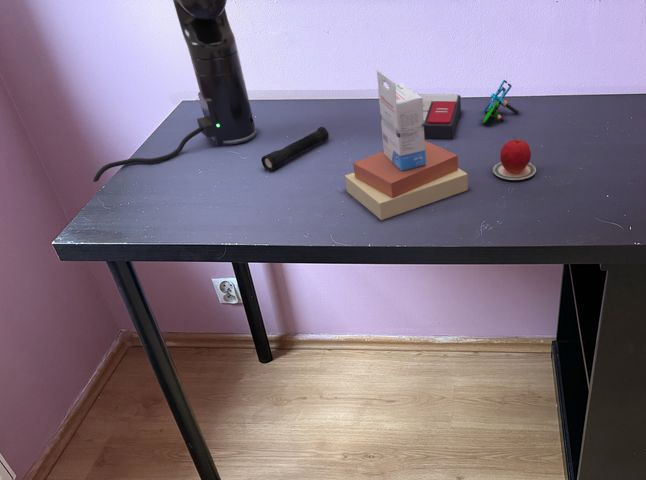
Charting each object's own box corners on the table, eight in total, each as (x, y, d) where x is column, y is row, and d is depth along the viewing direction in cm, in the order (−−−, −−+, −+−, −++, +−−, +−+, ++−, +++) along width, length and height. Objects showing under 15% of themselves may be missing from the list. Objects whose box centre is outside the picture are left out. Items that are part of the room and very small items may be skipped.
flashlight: (263, 169, 129) (259, 154, 127) (319, 139, 139) (317, 125, 137) (274, 172, 128) (270, 158, 126) (330, 141, 138) (328, 127, 136)
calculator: (399, 121, 135) (411, 90, 146) (400, 140, 138) (412, 109, 149) (452, 122, 134) (460, 91, 144) (452, 141, 137) (461, 110, 147)
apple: (506, 159, 128) (507, 126, 124) (543, 169, 124) (545, 135, 120) (484, 175, 123) (485, 142, 119) (522, 186, 120) (523, 151, 115)
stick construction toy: (487, 94, 148) (506, 70, 142) (512, 112, 150) (532, 89, 144) (472, 129, 142) (491, 106, 136) (499, 147, 144) (518, 125, 138)
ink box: (427, 165, 114) (423, 78, 104) (401, 172, 112) (394, 84, 103) (408, 147, 120) (402, 63, 110) (382, 153, 118) (374, 69, 109)
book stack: (381, 220, 112) (377, 188, 108) (346, 191, 121) (342, 160, 117) (467, 190, 119) (467, 158, 115) (428, 164, 128) (427, 134, 124)
